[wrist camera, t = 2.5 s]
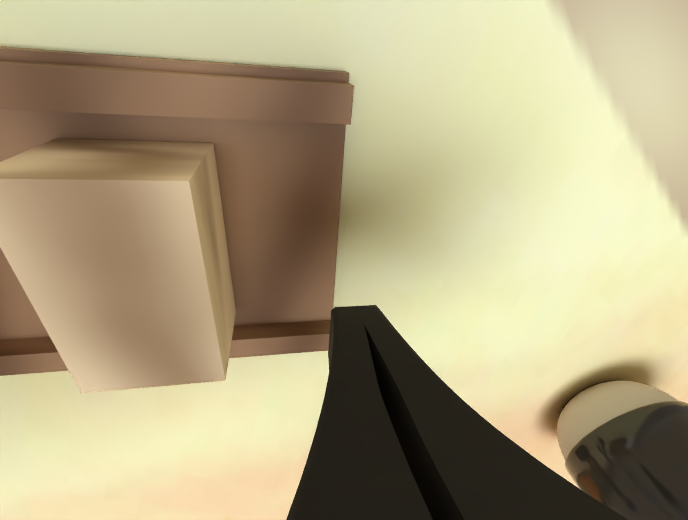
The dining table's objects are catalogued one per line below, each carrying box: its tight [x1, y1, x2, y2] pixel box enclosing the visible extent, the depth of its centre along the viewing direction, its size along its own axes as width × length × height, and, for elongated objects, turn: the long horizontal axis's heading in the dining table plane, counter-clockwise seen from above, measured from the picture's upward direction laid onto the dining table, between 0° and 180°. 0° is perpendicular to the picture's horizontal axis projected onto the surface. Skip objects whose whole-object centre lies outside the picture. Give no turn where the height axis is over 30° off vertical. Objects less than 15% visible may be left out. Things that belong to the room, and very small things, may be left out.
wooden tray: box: [0, 47, 354, 376], centre depth 13 cm, size 19×13×4 cm
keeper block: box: [0, 138, 236, 393], centre depth 12 cm, size 5×8×4 cm, turn 176°
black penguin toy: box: [557, 381, 688, 520], centre depth 23 cm, size 10×10×15 cm
